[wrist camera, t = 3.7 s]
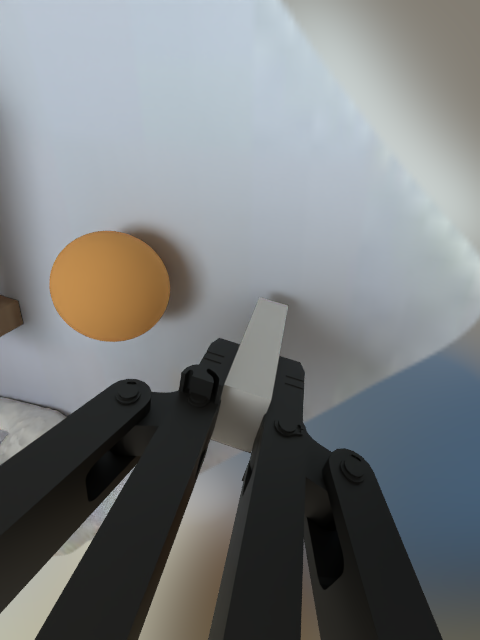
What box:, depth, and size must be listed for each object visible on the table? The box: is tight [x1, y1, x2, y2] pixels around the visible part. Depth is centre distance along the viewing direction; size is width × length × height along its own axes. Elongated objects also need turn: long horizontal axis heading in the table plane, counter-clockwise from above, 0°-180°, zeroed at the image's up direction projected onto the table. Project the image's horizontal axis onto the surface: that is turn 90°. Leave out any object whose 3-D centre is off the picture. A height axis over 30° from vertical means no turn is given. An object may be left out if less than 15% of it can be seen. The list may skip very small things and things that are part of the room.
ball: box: [50, 231, 170, 342], centre depth 15 cm, size 6×6×6 cm
